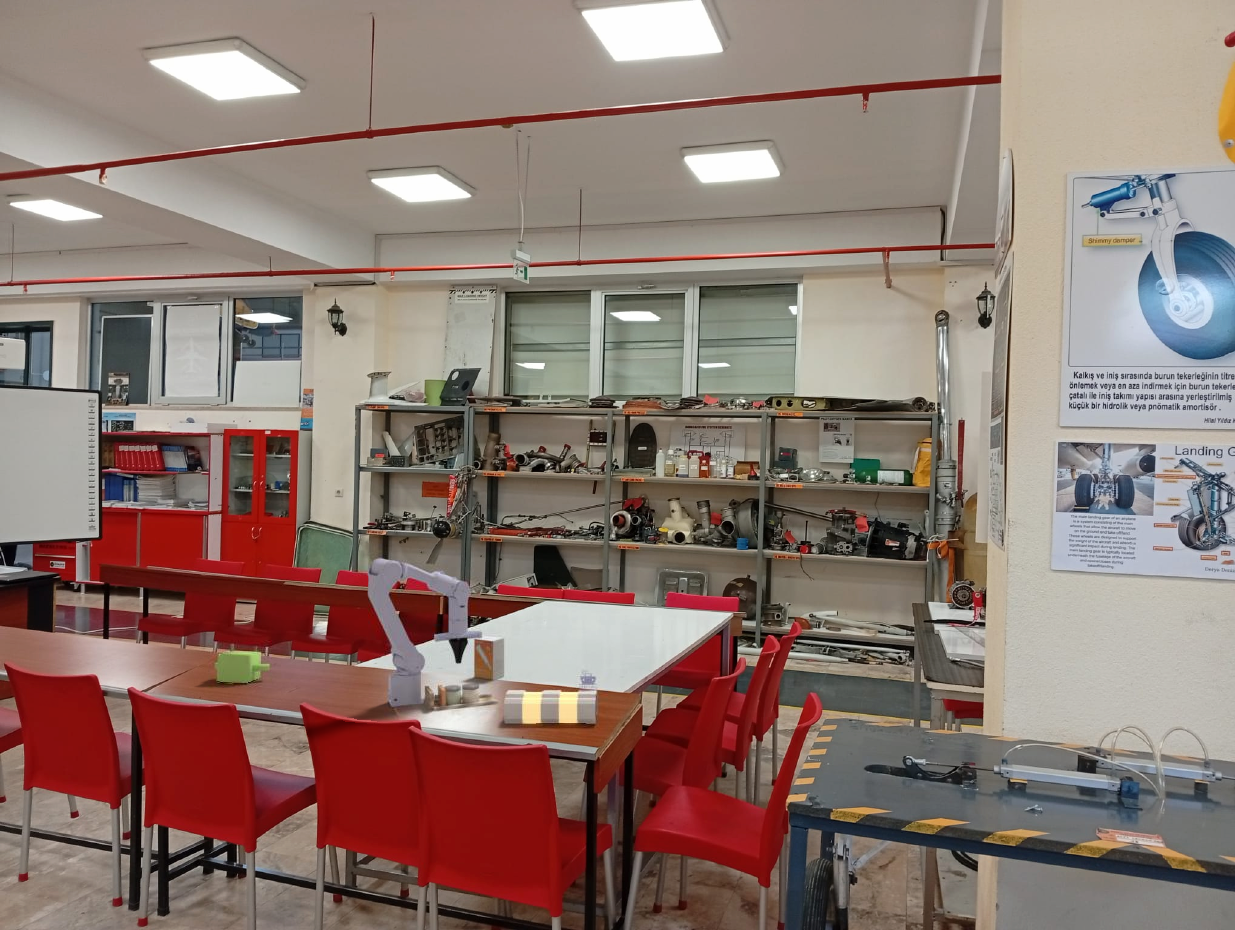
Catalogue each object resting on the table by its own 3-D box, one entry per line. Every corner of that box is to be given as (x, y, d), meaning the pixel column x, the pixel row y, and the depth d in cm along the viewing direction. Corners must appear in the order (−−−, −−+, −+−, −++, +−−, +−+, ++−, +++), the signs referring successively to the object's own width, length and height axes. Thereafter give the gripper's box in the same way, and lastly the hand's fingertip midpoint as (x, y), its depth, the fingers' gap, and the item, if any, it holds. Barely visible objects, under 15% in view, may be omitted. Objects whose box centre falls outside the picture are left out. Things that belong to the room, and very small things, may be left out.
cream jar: (464, 705, 256) (464, 688, 256) (460, 701, 260) (460, 684, 260) (481, 703, 258) (481, 686, 258) (476, 699, 263) (476, 682, 263)
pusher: (437, 708, 252) (437, 691, 252) (432, 702, 258) (432, 685, 258) (445, 707, 253) (445, 690, 253) (441, 701, 259) (441, 684, 259)
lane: (430, 713, 250) (430, 693, 250) (424, 704, 259) (424, 685, 259) (499, 705, 257) (499, 686, 257) (490, 697, 267) (490, 679, 267)
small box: (473, 677, 292) (473, 638, 292) (485, 673, 298) (485, 635, 298) (493, 680, 288) (493, 640, 288) (504, 676, 294) (504, 637, 294)
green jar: (446, 707, 254) (445, 690, 254) (441, 703, 258) (441, 686, 258) (462, 705, 256) (462, 688, 256) (458, 701, 260) (458, 684, 261)
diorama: (597, 715, 248) (597, 669, 248) (595, 725, 238) (595, 677, 238) (509, 714, 249) (509, 668, 249) (504, 725, 239) (503, 677, 239)
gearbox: (275, 679, 293) (277, 650, 294) (260, 685, 284) (261, 655, 284) (225, 676, 296) (226, 648, 296) (208, 682, 286) (209, 653, 286)
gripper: (437, 622, 266) (437, 667, 266) (484, 619, 271) (484, 663, 271) (432, 619, 272) (433, 662, 272) (478, 615, 278) (479, 658, 278)
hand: (458, 662), depth 272 cm, fingers closed
